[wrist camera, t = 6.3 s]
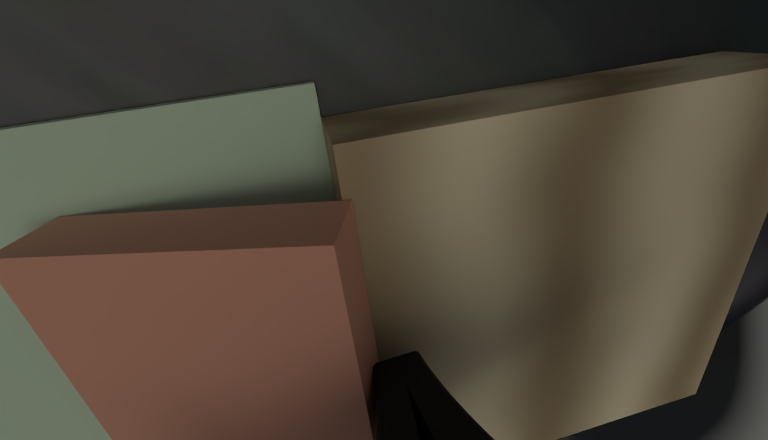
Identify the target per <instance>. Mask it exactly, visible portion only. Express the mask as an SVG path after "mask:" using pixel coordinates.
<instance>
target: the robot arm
mask: <svg viewBox="0 0 768 440" xmlns="http://www.w3.org/2000/svg"><path fill="white" fill-rule="evenodd" d="M373 371H374V375H375V383H376V395H377V432H376V440H495V439H493V438H492V437H491V436H490V435H489V434H488V433H487V432H486V431H485V430H484V429H483V428H482V427H481V426H480V425H479V424H478V423H477V422H476V421H475V420H474V419H473V418H472V417H471V416H470V415H469V414H468V413H467V411H466V410H465V409H464V408H463V407H462V406H461V405H460V404H459V403H458V402H457V400H456V399H455V398H454V397H453V396H452V395H451V394H450V393H449V391H448V390H447V389H446V388H445V387H444V386H443V384H442V383H441V382H440V381H439V379H438V378H437V377H436V376H435V374H434V373H433V372H432V370H431V369H430V368H429V366H428V365H427V363H426V362H425V361H424V359H423V358H422V356H421V354H420V353H419V352H417V351H412V352H409V353H406V354H402V355H399V356H396V357H393V358H390V359H387V360H384V361H380V362H377V363H375V365H374V366H373Z"/></svg>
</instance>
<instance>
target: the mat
mask: <svg viewBox="0 0 768 440" xmlns="http://www.w3.org/2000/svg"><path fill="white" fill-rule="evenodd" d="M326 201H336V197H335V192H334V187H333V181H332V176H331V170H330V165H329V160H328V154H327V149H326V143H325V138H324V133H323V127H322V122H321V116H320V111H319V106H318V100H317V95H316V89H315V84H314V82H313V81H310V82H304V83H297V84H290V85H283V86H277V87H270V88H263V89H257V90H250V91H243V92H237V93H230V94H223V95H216V96H210V97H203V98H196V99H190V100H183V101H176V102H169V103H163V104H156V105H149V106H143V107H136V108H129V109H123V110H116V111H109V112H102V113H96V114H89V115H82V116H76V117H69V118H62V119H55V120H49V121H42V122H35V123H29V124H22V125H15V126H9V127H2V128H0V249H2V248H4V247H5V246H7V245H9V244H11V243H12V242H14V241H16V240H18V239H19V238H21V237H23V236H25V235H27V234H28V233H30V232H32V231H34V230H35V229H37V228H39V227H41V226H42V225H44V224H46V223H48V222H50V221H51V220H53V219H55V218H57V217H60V216H78V215H95V214H113V213H131V212H149V211H166V210H184V209H202V208H220V207H237V206H255V205H273V204H291V203H309V202H326ZM0 440H112V439H111V438H110V437H109V435H108V434H107V432H106V431H105V430H104V428H103V427H102V425H101V424H100V423H99V421H98V420H97V418H96V417H95V416H94V414H93V413H92V411H91V410H90V409H89V407H88V406H87V404H86V403H85V402H84V400H83V399H82V397H81V396H80V395H79V393H78V392H77V390H76V389H75V388H74V386H73V385H72V383H71V382H70V381H69V379H68V378H67V376H66V375H65V374H64V372H63V371H62V369H61V368H60V367H59V365H58V364H57V362H56V361H55V360H54V358H53V357H52V355H51V354H50V353H49V351H48V350H47V348H46V347H45V346H44V344H43V343H42V341H41V340H40V339H39V337H38V336H37V334H36V333H35V332H34V330H33V329H32V327H31V326H30V325H29V323H28V322H27V320H26V319H25V318H24V316H23V315H22V313H21V312H20V311H19V309H18V308H17V306H16V305H15V304H14V302H13V301H12V299H11V298H10V297H9V295H8V294H7V292H6V291H5V290H4V288H3V287H2V285H1V284H0Z"/></svg>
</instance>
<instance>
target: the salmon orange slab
mask: <svg viewBox="0 0 768 440" xmlns="http://www.w3.org/2000/svg"><path fill="white" fill-rule="evenodd" d="M0 284H1V285H2V287H3V288H4V290H5V291H6V292H7V294H8V295H9V297H10V298H11V299H12V301H13V302H14V304H15V305H16V306H17V308H18V309H19V311H20V312H21V313H22V315H23V316H24V318H25V319H26V320H27V322H28V323H29V325H30V326H31V327H32V329H33V330H34V332H35V333H36V334H37V336H38V337H39V339H40V340H41V341H42V343H43V344H44V346H45V347H46V348H47V350H48V351H49V353H50V354H51V355H52V357H53V358H54V360H55V361H56V362H57V364H58V365H59V367H60V368H61V369H62V371H63V372H64V374H65V375H66V376H67V378H68V379H69V381H70V382H71V383H72V385H73V386H74V388H75V389H76V390H77V392H78V393H79V395H80V396H81V397H82V399H83V400H84V402H85V403H86V404H87V406H88V407H89V409H90V410H91V411H92V413H93V414H94V416H95V417H96V418H97V420H98V421H99V423H100V424H101V425H102V427H103V428H104V430H105V431H106V432H107V434H108V435H109V437H110V438H111V439H112V440H376V432H377V395H376V383H375V375H374V371H373V366H374V365H375V363H377V362H379V359H378V353H377V347H376V341H375V335H374V329H373V323H372V317H371V311H370V305H369V299H368V293H367V287H366V281H365V274H364V268H363V262H362V256H361V250H360V244H359V238H358V232H357V226H356V220H355V214H354V208H353V202H352V200H344V201H326V202H309V203H291V204H273V205H255V206H237V207H220V208H202V209H184V210H166V211H149V212H131V213H113V214H95V215H78V216H60V217H57V218H55V219H53V220H51V221H50V222H48V223H46V224H44V225H42V226H41V227H39V228H37V229H35V230H34V231H32V232H30V233H28V234H27V235H25V236H23V237H21V238H19V239H18V240H16V241H14V242H12V243H11V244H9V245H7V246H5V247H4V248H2V249H0Z"/></svg>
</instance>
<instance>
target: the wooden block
mask: <svg viewBox="0 0 768 440" xmlns="http://www.w3.org/2000/svg"><path fill="white" fill-rule="evenodd" d="M321 122H322V127H323V133H324V138H325V143H326V149H327V154H328V160H329V165H330V170H331V176H332V181H333V187H334V192H335V197H336V201H344V200H352V202H353V208H354V214H355V220H356V226H357V232H358V238H359V244H360V250H361V256H362V262H363V268H364V274H365V281H366V287H367V293H368V299H369V305H370V311H371V317H372V323H373V329H374V335H375V341H376V347H377V353H378V359H379V362H380V361H384V360H387V359H390V358H393V357H396V356H399V355H402V354H406V353H409V352H412V351H417V352H419V353H420V354H421V356H422V358H423V359H424V361H425V362H426V363H427V365H428V366H429V368H430V369H431V370H432V372H433V373H434V374H435V376H436V377H437V378H438V379H439V381H440V382H441V383H442V384H443V386H444V387H445V388H446V389H447V390H448V391H449V393H450V394H451V395H452V396H453V397H454V398H455V399H456V400H457V402H458V403H459V404H460V405H461V406H462V407H463V408H464V409H465V410H466V411H467V413H468V414H469V415H470V416H471V417H472V418H473V419H474V420H475V421H476V422H477V423H478V424H479V425H480V426H481V427H482V428H483V429H484V430H485V431H486V432H487V433H488V434H489V435H490V436H491V437H492V438H493V439H495V440H556V439H559V438H562V437H565V436H568V435H571V434H574V433H577V432H580V431H584V430H587V429H589V428H593V427H595V426H599V425H602V424H605V423H608V422H611V421H614V420H617V419H620V418H623V417H626V416H629V415H632V414H635V413H638V412H641V411H644V410H647V409H650V408H653V407H657V406H659V405H662V404H666V403H668V402H672V401H674V400H678V399H681V398H684V397H687V396H690V395H693V394H696V391H697V389H698V386H699V384H700V381H701V379H702V376H703V374H704V371H705V369H706V366H707V364H708V361H709V358H710V356H711V353H712V351H713V348H714V346H715V343H716V341H717V338H718V336H719V333H720V331H721V328H722V326H723V323H724V321H725V318H726V316H727V313H728V311H729V308H730V306H731V303H732V300H733V298H734V295H735V293H736V290H737V288H738V285H739V283H740V280H741V278H742V275H743V273H744V270H745V268H746V265H747V263H748V260H749V258H750V255H751V253H752V250H753V247H754V245H755V242H756V240H757V237H758V235H759V232H760V230H761V227H762V225H763V222H764V220H765V217H766V215H767V212H768V54H763V53H746V52H728V51H720V52H714V53H708V54H702V55H696V56H690V57H683V58H677V59H671V60H665V61H659V62H653V63H647V64H641V65H635V66H629V67H623V68H617V69H611V70H604V71H598V72H592V73H586V74H580V75H574V76H568V77H562V78H556V79H550V80H544V81H538V82H531V83H525V84H519V85H513V86H507V87H501V88H495V89H489V90H483V91H477V92H471V93H465V94H459V95H452V96H446V97H440V98H434V99H428V100H422V101H416V102H410V103H404V104H398V105H392V106H386V107H379V108H373V109H367V110H361V111H355V112H349V113H343V114H337V115H331V116H325V117H321Z"/></svg>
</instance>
